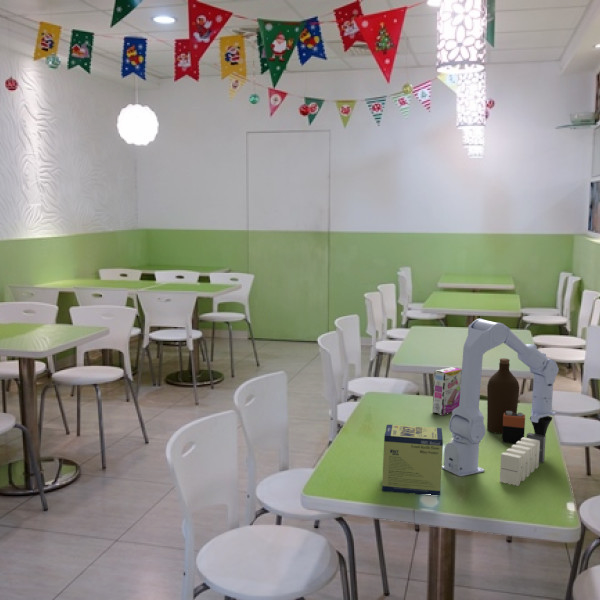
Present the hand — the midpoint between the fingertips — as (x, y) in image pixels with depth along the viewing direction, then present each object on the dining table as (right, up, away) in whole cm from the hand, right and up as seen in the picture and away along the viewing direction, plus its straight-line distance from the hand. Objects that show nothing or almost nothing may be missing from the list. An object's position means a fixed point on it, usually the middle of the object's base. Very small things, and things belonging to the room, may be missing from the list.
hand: (539, 439), depth 211 cm
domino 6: (-2, -6, -3) cm, 7 cm away
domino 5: (-6, -6, -7) cm, 11 cm away
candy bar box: (-18, 0, +49) cm, 52 cm away
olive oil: (-4, -2, +27) cm, 28 cm away
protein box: (-43, -8, -25) cm, 51 cm away
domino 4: (-8, -7, -11) cm, 15 cm away
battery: (-4, -4, +15) cm, 16 cm away
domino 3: (-11, -7, -14) cm, 19 cm away
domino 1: (-16, -8, -21) cm, 27 cm away
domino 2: (-13, -7, -17) cm, 23 cm away
